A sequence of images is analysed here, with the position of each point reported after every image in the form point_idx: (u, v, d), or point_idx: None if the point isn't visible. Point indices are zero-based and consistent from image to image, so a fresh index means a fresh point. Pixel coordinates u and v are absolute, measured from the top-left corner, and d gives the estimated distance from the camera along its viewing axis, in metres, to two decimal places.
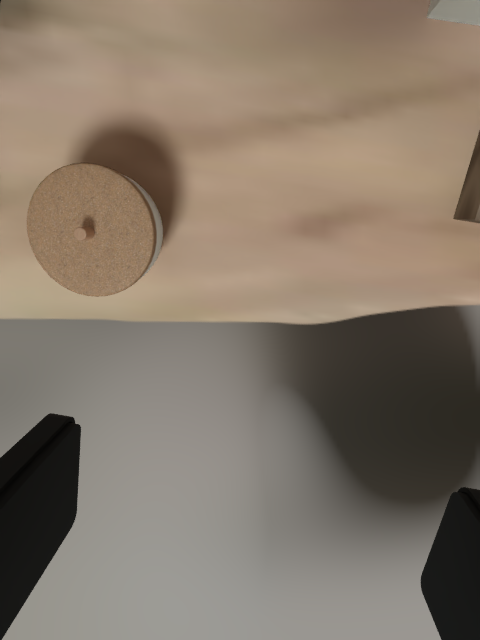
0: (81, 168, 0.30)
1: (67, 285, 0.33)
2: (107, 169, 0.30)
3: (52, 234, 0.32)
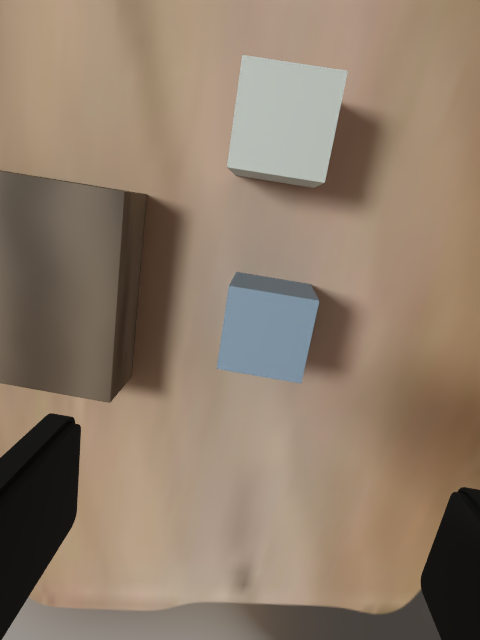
0: None
1: None
2: None
3: None
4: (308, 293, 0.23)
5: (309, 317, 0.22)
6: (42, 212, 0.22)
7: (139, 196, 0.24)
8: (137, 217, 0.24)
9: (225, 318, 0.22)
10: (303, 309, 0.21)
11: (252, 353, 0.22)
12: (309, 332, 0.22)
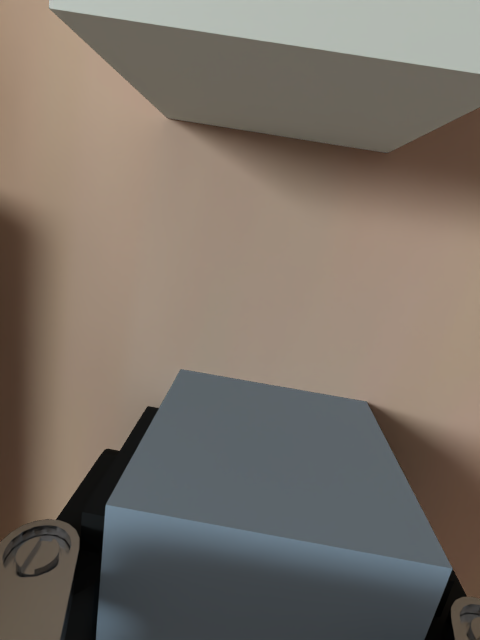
0: None
1: None
2: None
3: None
4: (388, 488, 0.07)
5: (407, 616, 0.06)
6: None
7: None
8: None
9: (102, 604, 0.06)
10: (386, 592, 0.06)
11: None
12: None
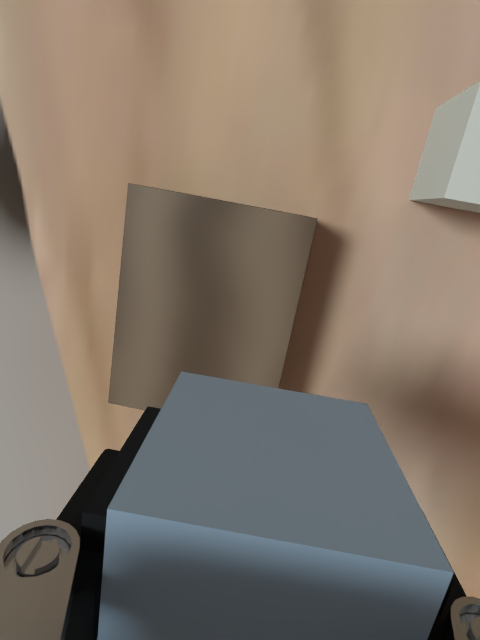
0: None
1: None
2: None
3: None
4: (389, 492, 0.07)
5: (409, 620, 0.06)
6: (223, 238, 0.21)
7: None
8: None
9: (104, 607, 0.06)
10: (387, 597, 0.06)
11: None
12: None
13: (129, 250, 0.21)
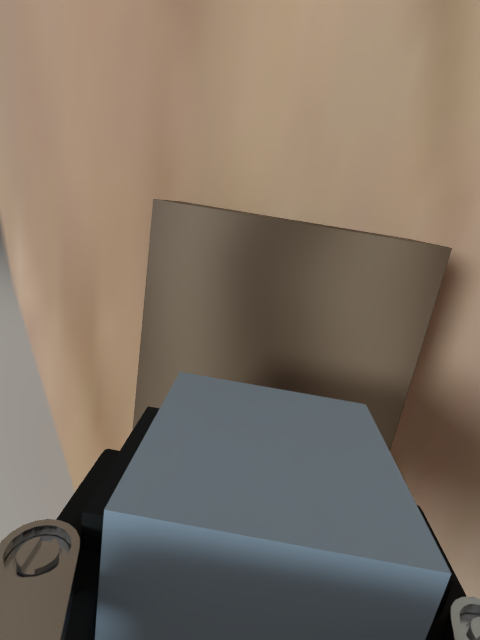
0: None
1: None
2: None
3: None
4: (387, 492, 0.07)
5: (406, 620, 0.06)
6: (301, 280, 0.13)
7: None
8: None
9: (101, 608, 0.06)
10: (384, 597, 0.06)
11: None
12: None
13: (155, 300, 0.14)
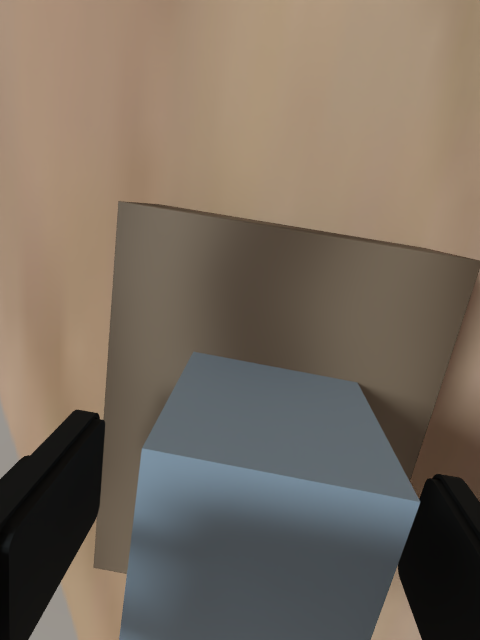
0: None
1: None
2: None
3: None
4: (372, 447, 0.08)
5: (384, 543, 0.07)
6: (299, 299, 0.11)
7: None
8: None
9: (135, 533, 0.07)
10: (367, 523, 0.07)
11: (215, 620, 0.08)
12: (382, 580, 0.07)
13: (123, 322, 0.12)
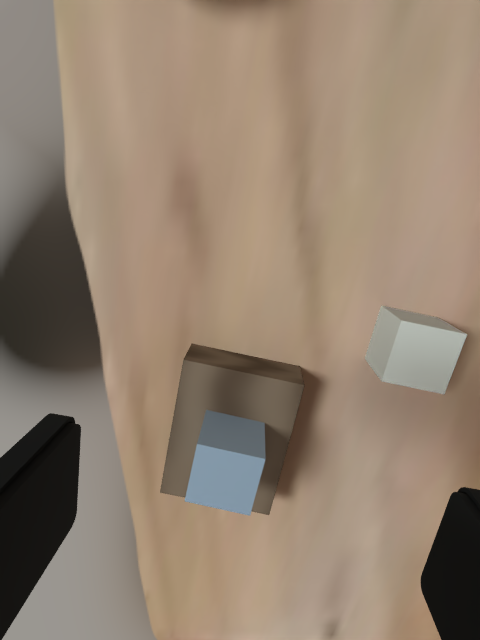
0: None
1: None
2: None
3: None
4: (259, 445, 0.29)
5: (257, 469, 0.28)
6: (244, 394, 0.32)
7: (300, 374, 0.34)
8: None
9: (193, 466, 0.28)
10: (252, 464, 0.28)
11: (213, 491, 0.29)
12: (257, 480, 0.28)
13: (181, 398, 0.32)
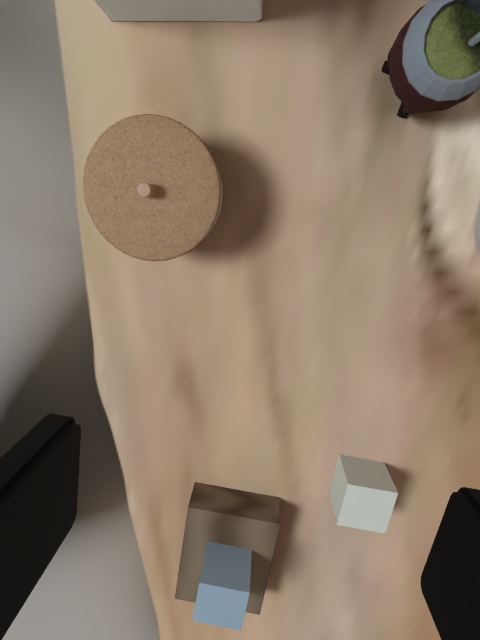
0: (214, 189, 0.29)
1: (91, 158, 0.29)
2: (213, 217, 0.30)
3: (145, 147, 0.29)
4: (245, 577, 0.39)
5: (244, 599, 0.38)
6: (235, 530, 0.42)
7: (279, 507, 0.44)
8: None
9: (197, 597, 0.38)
10: (240, 596, 0.38)
11: (212, 614, 0.39)
12: (244, 606, 0.38)
13: (188, 533, 0.43)
